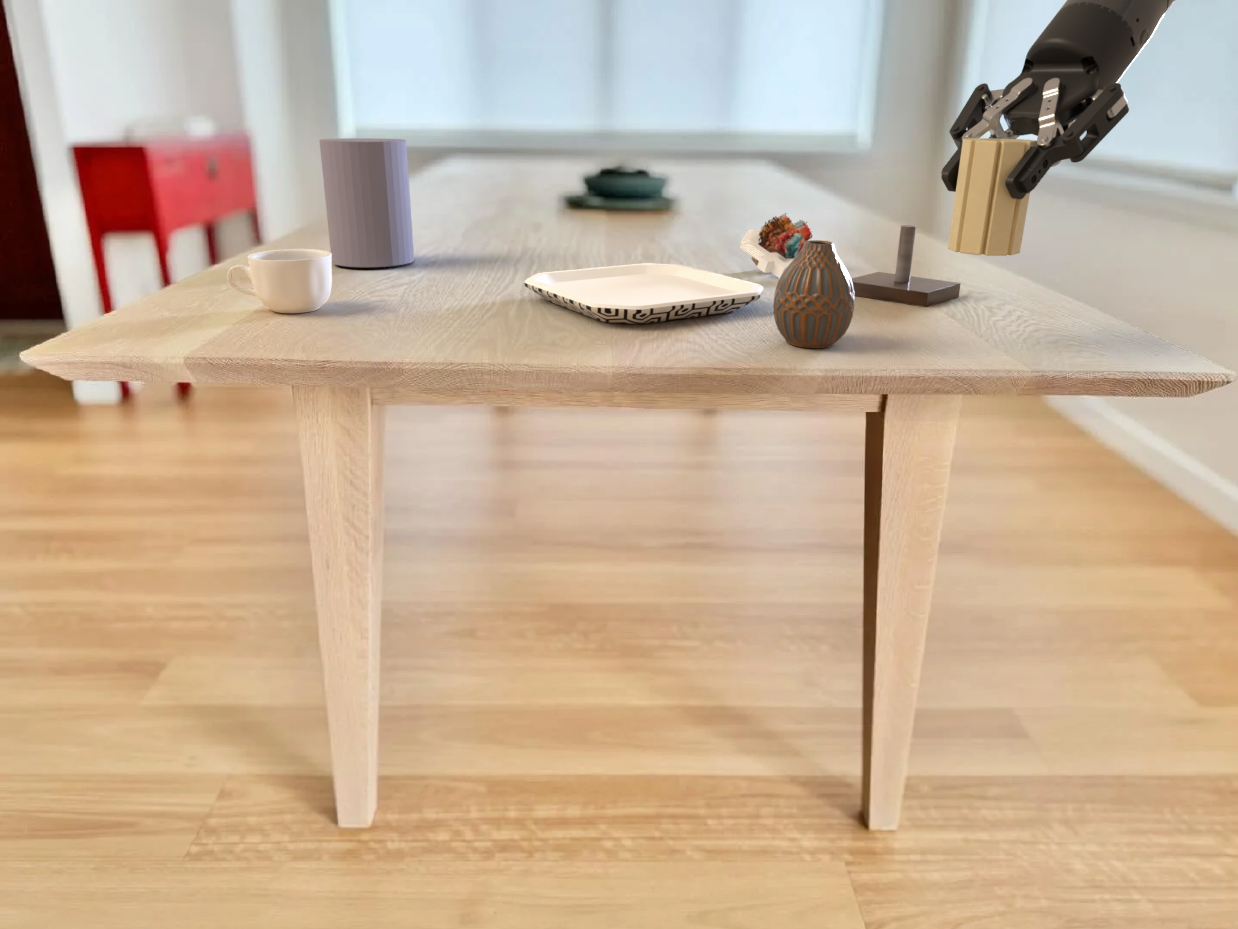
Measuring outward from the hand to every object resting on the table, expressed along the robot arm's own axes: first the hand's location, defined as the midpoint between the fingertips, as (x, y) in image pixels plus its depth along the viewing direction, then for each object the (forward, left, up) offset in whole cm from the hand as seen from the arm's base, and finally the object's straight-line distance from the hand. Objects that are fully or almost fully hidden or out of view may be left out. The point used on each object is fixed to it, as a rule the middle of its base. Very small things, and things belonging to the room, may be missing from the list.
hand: (979, 187), depth 77 cm
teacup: (+55, +34, -14) cm, 66 cm away
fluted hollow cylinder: (0, -2, -5) cm, 6 cm away
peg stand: (+15, -18, -13) cm, 26 cm away
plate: (+32, +6, -14) cm, 35 cm away
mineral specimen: (+33, -22, -14) cm, 41 cm away
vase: (+10, +9, -14) cm, 19 cm away
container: (+73, +12, -14) cm, 75 cm away
